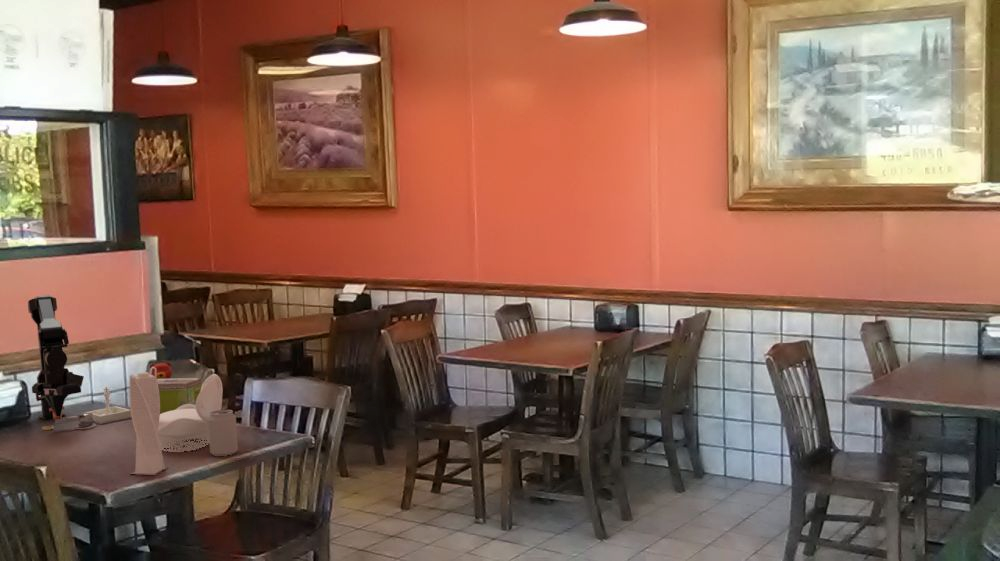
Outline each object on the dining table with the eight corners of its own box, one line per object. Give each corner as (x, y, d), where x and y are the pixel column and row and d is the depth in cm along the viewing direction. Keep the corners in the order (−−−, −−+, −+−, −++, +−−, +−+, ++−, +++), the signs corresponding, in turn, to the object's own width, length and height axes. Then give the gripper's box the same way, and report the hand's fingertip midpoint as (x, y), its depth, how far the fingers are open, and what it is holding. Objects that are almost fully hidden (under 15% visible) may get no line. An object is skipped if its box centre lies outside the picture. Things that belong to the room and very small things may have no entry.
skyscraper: (173, 468, 276) (165, 364, 273) (157, 477, 268) (149, 369, 265) (144, 467, 278) (136, 364, 275) (127, 476, 270) (119, 369, 267)
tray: (85, 419, 339) (85, 412, 339) (116, 413, 347) (115, 406, 347) (100, 424, 332) (100, 416, 332) (132, 417, 340) (131, 410, 339)
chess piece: (102, 416, 341) (100, 386, 340) (118, 415, 342) (115, 385, 341) (98, 419, 337) (96, 389, 336) (114, 418, 337) (112, 388, 336)
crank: (93, 422, 332) (91, 402, 331) (93, 425, 328) (91, 404, 327) (50, 427, 327) (49, 406, 326) (50, 430, 323) (48, 409, 322)
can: (242, 450, 292) (239, 408, 291) (232, 457, 285) (229, 414, 283) (216, 450, 293) (213, 408, 292) (206, 457, 285) (203, 414, 284)
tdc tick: (53, 428, 328) (53, 425, 328) (52, 429, 327) (52, 426, 327) (43, 429, 328) (43, 426, 328) (42, 430, 327) (42, 427, 327)
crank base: (71, 427, 329) (71, 426, 329) (91, 423, 333) (91, 422, 333) (80, 430, 324) (80, 429, 324) (100, 426, 329) (100, 425, 329)
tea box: (205, 423, 328) (202, 376, 326) (190, 431, 318) (187, 383, 316) (161, 423, 330) (157, 377, 329) (145, 430, 320) (141, 383, 319)
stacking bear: (144, 422, 332) (140, 367, 331) (148, 415, 342) (144, 361, 341) (180, 419, 335) (176, 364, 333) (183, 412, 345) (179, 359, 343)
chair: (158, 440, 308) (153, 373, 306) (227, 434, 312) (223, 368, 310) (150, 457, 288) (145, 386, 286) (224, 450, 292) (219, 380, 290)
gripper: (94, 363, 323) (98, 413, 324) (62, 362, 335) (66, 410, 335) (61, 368, 314) (65, 419, 315) (29, 366, 326) (33, 416, 326)
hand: (58, 416), depth 323 cm, fingers closed
